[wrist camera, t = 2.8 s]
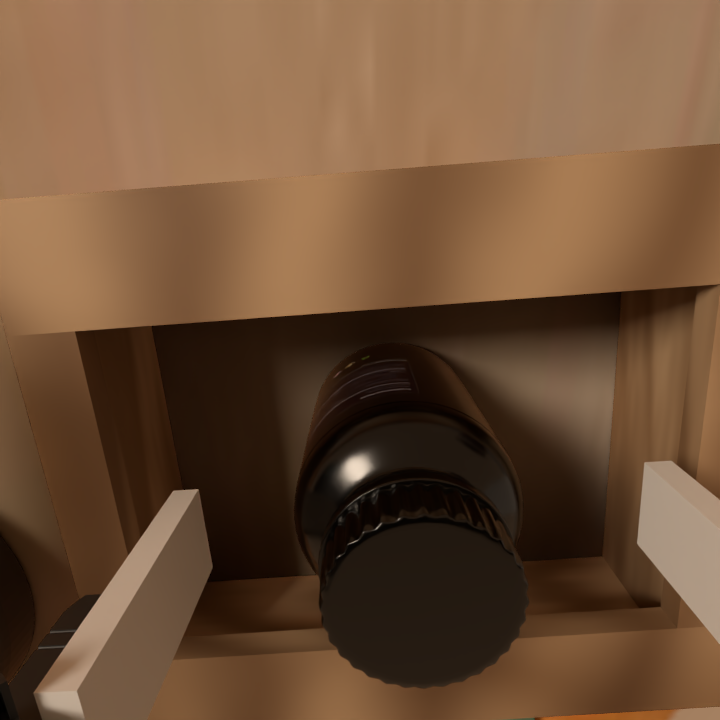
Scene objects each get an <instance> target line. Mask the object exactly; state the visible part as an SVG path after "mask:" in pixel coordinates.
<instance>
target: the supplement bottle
mask: <svg viewBox="0 0 720 720" xmlns="http://www.w3.org/2000/svg"><path fill="white" fill-rule="evenodd" d="M523 514H524V503H523V494H522V488H521V484H520V480H519V477H518V474H517V472H516V470H515V467H514V465H513V463H512V461H511V459H510V457H509V455H508V454H507V452H506V450H505V449H504V447H503V445H502V444H501V442H500V441H499V439H498V438H497V436H496V434H495V433H494V431H493V430H492V428H491V427H490V425H489V424H488V422H487V421H486V419H485V417H484V416H483V414H482V413H481V411H480V410H479V408H478V407H477V405H476V404H475V402H474V400H473V399H472V397H471V396H470V394H469V393H468V391H467V390H466V388H465V386H464V385H463V383H462V382H461V380H460V379H459V378H458V376H457V375H456V374H455V372H454V371H453V370H452V369H451V368H450V367H449V366H448V365H447V364H446V363H445V362H444V361H443V360H442V359H440V358H439V357H437V356H436V355H435V354H433V353H431V352H429V351H427V350H425V349H423V348H420V347H417V346H414V345H409V344H403V343H382V344H376V345H372V346H369V347H366V348H363V349H361V350H358V351H356V352H354V353H353V354H351V355H349V356H348V357H346V358H345V359H344V360H342V361H341V362H340V363H339V364H338V365H337V366H336V367H335V368H334V369H333V370H332V371H331V373H330V374H329V375H328V377H327V378H326V380H325V382H324V383H323V385H322V387H321V390H320V392H319V395H318V398H317V401H316V405H315V408H314V413H313V417H312V421H311V425H310V430H309V434H308V438H307V443H306V447H305V451H304V456H303V460H302V464H301V469H300V473H299V477H298V482H297V487H296V493H295V503H294V521H295V529H296V533H297V537H298V541H299V544H300V546H301V549H302V551H303V553H304V555H305V557H306V559H307V561H308V563H309V564H310V566H311V567H312V569H313V570H314V572H315V573H316V574H317V576H318V577H319V580H320V592H319V609H320V611H321V614H322V616H321V622H322V626H323V628H324V629H325V630H326V631H327V632H328V639H329V642H330V643H331V644H332V645H334V646H335V647H336V648H337V649H338V653H339V655H340V656H341V657H343V658H344V659H346V660H348V661H349V662H350V664H351V666H352V667H353V668H355V669H358V670H361V671H363V672H364V673H365V674H366V675H367V676H368V677H370V678H375V679H379V680H381V681H382V682H383V683H385V684H396V685H399V686H401V687H403V688H410V687H417V688H421V689H426V688H430V687H433V686H437V687H445V686H447V685H449V684H451V683H456V682H463V681H464V680H466V679H467V678H469V677H470V676H474V675H478V674H481V673H482V672H483V671H484V669H485V668H486V667H489V666H491V665H494V664H496V662H497V661H498V659H499V657H500V656H501V655H503V654H505V653H506V652H508V651H509V649H510V647H511V643H512V642H513V641H514V640H515V639H517V638H518V637H519V633H520V627H521V626H522V624H523V623H524V622H525V621H526V614H525V610H526V608H527V607H528V604H529V598H528V595H527V590H528V586H529V584H528V580H527V577H526V575H525V573H524V567H523V563H522V560H521V558H520V556H519V554H518V552H517V550H516V546H517V543H518V540H519V537H520V533H521V529H522V523H523Z"/></svg>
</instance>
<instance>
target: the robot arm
mask: <svg viewBox="0 0 720 720" xmlns="http://www.w3.org/2000/svg"><path fill="white" fill-rule="evenodd" d="M637 544H638V545H639V547H640V548H641V549H642V550H643V551H644V553H645V554H646V555H647V556H648V558H649V559H650V560H651V561H652V562H653V564H654V565H655V566H656V567H657V568H658V570H659V571H660V572H661V573H662V575H663V576H664V577H665V578H666V579H667V581H668V582H669V583H670V584H671V586H672V587H673V588H674V589H675V590H676V592H677V593H678V594H679V595H680V596H681V598H682V599H683V600H684V601H685V603H686V604H687V605H688V606H689V607H690V609H691V610H692V611H693V612H694V614H695V615H696V616H697V617H698V618H699V620H700V621H701V622H702V623H703V624H704V626H705V627H706V628H707V629H708V631H709V632H710V633H711V634H712V635H713V637H714V638H715V639H716V640H717V642H718V643H719V644H720V500H719V499H718V498H717V497H716V496H714V495H713V494H712V493H711V492H709V491H708V490H707V489H706V488H704V487H703V486H702V485H701V484H699V483H698V482H697V481H696V480H695V479H693V478H692V477H691V476H690V475H688V474H687V473H686V472H685V471H683V470H682V469H681V468H680V467H678V466H677V465H676V464H675V463H674V462H672V461H657V462H645V463H644V473H643V484H642V495H641V506H640V517H639V528H638V538H637ZM212 568H213V565H212V560H211V554H210V549H209V543H208V538H207V533H206V527H205V522H204V516H203V511H202V505H201V500H200V494H199V489H193V490H177V491H173V492H172V493H171V495H170V496H169V498H168V499H167V501H166V502H165V503H164V505H163V506H162V508H161V509H160V511H159V512H158V514H157V515H156V516H155V518H154V519H153V521H152V522H151V524H150V525H149V527H148V528H147V529H146V531H145V532H144V534H143V535H142V537H141V538H140V540H139V541H138V542H137V544H136V545H135V547H134V548H133V550H132V551H131V553H130V554H129V555H128V557H127V558H126V560H125V561H124V563H123V564H122V566H121V567H120V568H119V570H118V571H117V573H116V574H115V576H114V577H113V579H112V580H111V582H110V583H109V584H108V586H107V587H106V589H105V590H104V592H103V593H102V594H94V595H84V596H83V597H82V598H81V599H79V600H78V601H77V602H76V603H74V604H73V605H72V606H71V607H70V608H68V609H67V610H66V611H65V612H64V613H63V614H62V615H61V617H60V618H59V619H58V621H57V622H56V623H55V625H54V626H53V627H52V629H51V630H50V634H47V635H46V637H45V638H44V639H43V641H42V642H41V643H40V645H39V646H38V650H35V651H34V653H33V654H32V655H31V657H30V658H29V659H28V661H27V662H26V663H25V664H24V666H23V667H22V668H21V670H20V671H19V672H18V674H17V675H16V676H15V678H14V679H13V680H12V682H11V683H10V684H9V686H8V682H9V681H10V680H11V678H12V677H13V676H14V674H15V673H16V672H17V670H18V669H19V667H20V666H21V664H22V663H23V661H24V659H25V657H26V655H27V653H28V650H29V648H30V644H31V641H32V636H33V630H34V607H33V601H32V596H31V592H30V588H29V585H28V583H27V580H26V577H25V575H24V573H23V570H22V568H21V566H20V565H19V563H18V561H17V559H16V558H15V556H14V554H13V553H12V551H11V550H10V548H9V547H8V546H7V544H6V543H5V542H4V540H3V539H2V538H1V537H0V720H147V719H148V716H149V714H150V712H151V709H152V707H153V705H154V702H155V700H156V698H157V696H158V693H159V691H160V689H161V686H162V684H163V682H164V679H165V677H166V675H167V672H168V670H169V668H170V665H171V663H172V661H173V658H174V656H175V654H176V651H177V649H178V647H179V644H180V642H181V640H182V637H183V635H184V633H185V631H186V628H187V626H188V624H189V621H190V619H191V617H192V614H193V612H194V610H195V607H196V605H197V603H198V600H199V598H200V596H201V593H202V591H203V589H204V586H205V584H206V582H207V579H208V577H209V575H210V572H211V570H212Z"/></svg>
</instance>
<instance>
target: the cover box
mask: <svg viewBox="0 0 720 720" xmlns="http://www.w3.org/2000/svg"><path fill="white" fill-rule="evenodd" d="M620 291H622V293H621V306H620V320H619V334H618V348H617V361H616V375H615V389H614V403H613V417H612V430H611V444H610V458H609V472H608V485H607V499H606V513H605V527H604V541H603V554H602V557H586V558H571V559H555V560H540V561H525V562H522V563H523V567H524V573H525V575H526V577H527V580H528V584H529V586H528V590H527V595H528V598H529V604H528V607H527V608H526V610H525V614H526V621H525V622H524V623H523V624H522V626H521V627H520V633H519V637H518V638H517V639H515V640H514V641H513V642H512V643H511V647H510V649H509V651H508V652H506V653H505V654H503V655H501V656H500V657H499V659H498V661H497V662H496V664H494V665H491V666H489V667H486V668H485V669H484V671H483V672H482V673H481V674H478V675H474V676H470V677H469V678H467V679H466V680H464V681H463V682H456V683H451V684H449V685H447V686H445V687H437V686H433V687H430V688H426V689H421V688H417V687H410V688H403V687H401V686H399V685H396V684H385V683H383V682H382V681H381V680H379V679H375V678H370V677H368V676H367V675H366V674H365V673H364V672H363V671H361V670H358V669H355V668H353V667H352V666H351V664H350V662H349V661H348V660H346V659H344V658H343V657H341V656H340V655H339V653H338V649H337V648H336V647H335V646H334V645H332V644H331V643H330V642H329V639H328V632H327V631H326V630H325V629H324V628H323V626H322V622H321V616H322V614H321V611H320V609H319V592H320V580H319V577H318V576H317V575H309V576H293V577H278V578H263V579H247V580H232V581H216V582H206V584H205V586H204V589H203V591H202V593H201V596H200V598H199V600H198V603H197V605H196V607H195V610H194V612H193V614H192V617H191V619H190V621H189V624H188V626H187V628H186V631H185V633H184V635H183V637H182V640H181V642H180V644H179V647H178V649H177V651H176V654H175V656H174V658H173V661H172V663H171V665H170V668H169V670H168V672H167V675H166V677H165V679H164V682H163V684H162V686H161V689H160V691H159V693H158V696H157V698H156V700H155V702H154V705H153V707H152V709H151V712H150V714H149V716H148V719H147V720H503V719H520V718H536V717H553V716H570V715H586V714H603V713H620V712H636V711H653V710H670V709H686V708H703V707H720V644H719V643H718V642H717V640H716V639H715V638H714V637H713V635H712V634H711V633H710V632H709V631H708V629H707V628H706V627H705V626H704V624H703V623H702V622H701V621H700V620H699V618H698V617H697V616H696V615H695V614H694V612H693V611H692V610H691V609H690V607H689V606H688V605H687V604H686V603H685V601H684V600H683V599H682V598H681V596H680V595H679V594H678V593H677V592H676V590H675V589H674V588H673V587H672V586H671V584H670V583H669V582H668V581H667V579H666V578H665V577H664V576H663V575H662V573H661V572H660V571H659V570H658V568H657V567H656V566H655V565H654V564H653V562H652V561H651V560H650V559H649V558H648V556H647V555H646V554H645V553H644V551H643V550H642V549H641V548H640V547H639V545H638V544H637V538H638V528H639V517H640V506H641V495H642V484H643V473H644V463H645V462H657V461H672V462H674V463H675V464H676V465H677V466H678V467H680V468H681V469H682V470H683V471H685V472H686V473H687V474H688V475H690V476H691V477H692V478H693V479H695V480H696V481H697V482H698V483H699V484H701V485H702V486H703V487H704V488H706V489H707V490H708V491H709V492H711V493H712V494H713V495H714V496H716V497H717V498H718V499H719V500H720V144H711V145H699V146H686V147H673V148H660V149H647V150H634V151H621V152H608V153H595V154H583V155H570V156H557V157H544V158H531V159H518V160H505V161H492V162H479V163H467V164H454V165H441V166H428V167H415V168H402V169H389V170H376V171H363V172H351V173H338V174H325V175H312V176H299V177H286V178H273V179H260V180H247V181H234V182H222V183H209V184H196V185H183V186H170V187H157V188H144V189H131V190H118V191H106V192H93V193H80V194H67V195H54V196H41V197H28V198H15V199H2V200H0V316H1V320H2V323H3V327H4V330H5V334H6V338H7V341H8V345H9V348H10V352H11V356H12V359H13V363H14V366H15V370H16V374H17V377H18V381H19V384H20V388H21V392H22V395H23V399H24V402H25V406H26V410H27V413H28V417H29V420H30V424H31V428H32V431H33V435H34V438H35V442H36V446H37V449H38V453H39V456H40V460H41V464H42V467H43V471H44V474H45V478H46V482H47V485H48V489H49V492H50V496H51V500H52V503H53V507H54V510H55V514H56V518H57V521H58V525H59V528H60V532H61V536H62V539H63V543H64V546H65V550H66V554H67V557H68V561H69V564H70V568H71V572H72V575H73V579H74V582H75V586H76V590H77V593H78V597H79V599H81V598H82V597H83V596H84V595H94V594H102V593H103V592H104V590H105V589H106V587H107V586H108V584H109V583H110V582H111V580H112V579H113V577H114V576H115V574H116V573H117V571H118V570H119V568H120V567H121V566H122V564H123V563H124V561H125V560H126V558H127V557H128V555H129V554H130V553H131V551H132V550H133V548H134V547H135V545H136V544H137V542H138V541H139V540H140V538H141V537H142V535H143V534H144V532H145V531H146V529H147V528H148V527H149V525H150V524H151V522H152V521H153V519H154V518H155V516H156V515H157V514H158V512H159V511H160V509H161V508H162V506H163V505H164V503H165V502H166V501H167V499H168V498H169V496H170V495H171V493H172V492H173V491H177V490H183V487H182V482H181V477H180V472H179V466H178V461H177V456H176V451H175V446H174V441H173V435H172V430H171V425H170V420H169V415H168V410H167V404H166V399H165V394H164V389H163V384H162V379H161V373H160V368H159V363H158V358H157V353H156V348H155V342H154V337H153V332H152V327H151V326H155V325H169V324H182V323H196V322H210V321H223V320H237V319H251V318H264V317H278V316H292V315H305V314H319V313H333V312H346V311H360V310H374V309H387V308H401V307H415V306H428V305H442V304H456V303H469V302H483V301H497V300H510V299H524V298H538V297H551V296H565V295H579V294H592V293H606V292H620Z"/></svg>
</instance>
